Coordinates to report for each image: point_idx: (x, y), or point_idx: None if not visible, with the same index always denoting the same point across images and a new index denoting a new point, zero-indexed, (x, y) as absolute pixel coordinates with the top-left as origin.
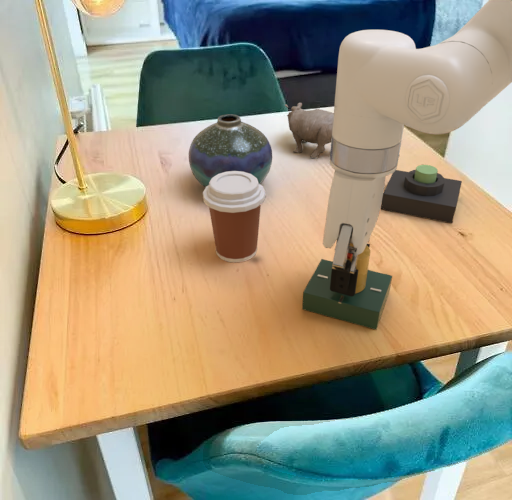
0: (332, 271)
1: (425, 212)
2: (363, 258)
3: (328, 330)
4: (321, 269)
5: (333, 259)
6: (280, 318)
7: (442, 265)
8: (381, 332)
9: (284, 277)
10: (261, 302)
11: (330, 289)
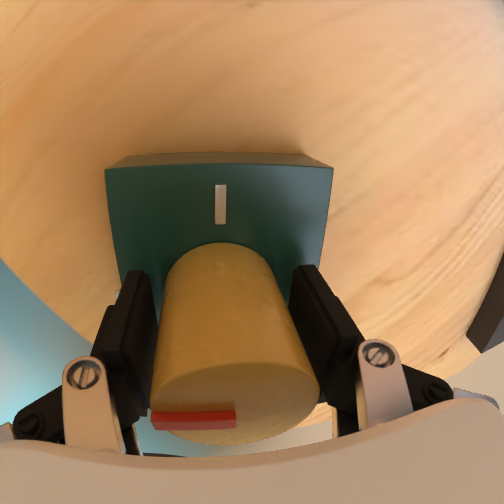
0: (108, 329)
1: (489, 308)
2: (193, 440)
3: (91, 248)
4: (266, 185)
5: (62, 404)
6: (71, 119)
7: None
8: None
9: (258, 51)
10: (113, 39)
11: (129, 271)
